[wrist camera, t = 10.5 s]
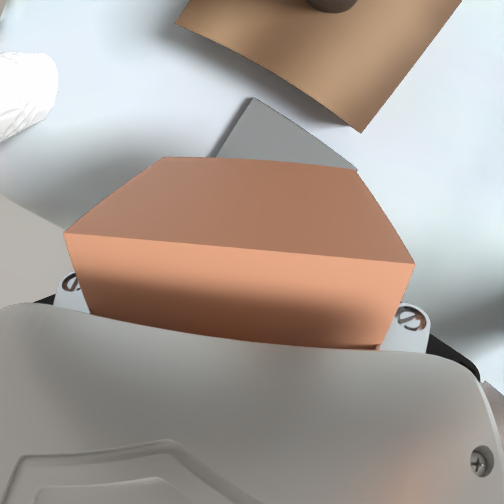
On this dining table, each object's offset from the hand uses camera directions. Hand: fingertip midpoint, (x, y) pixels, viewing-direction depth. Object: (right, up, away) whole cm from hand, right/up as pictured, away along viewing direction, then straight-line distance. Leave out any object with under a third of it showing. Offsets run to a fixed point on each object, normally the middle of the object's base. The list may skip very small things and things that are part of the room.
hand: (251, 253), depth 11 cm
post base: (+4, +15, +1) cm, 16 cm away
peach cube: (0, 0, +1) cm, 1 cm away
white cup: (-19, +14, +6) cm, 24 cm away
